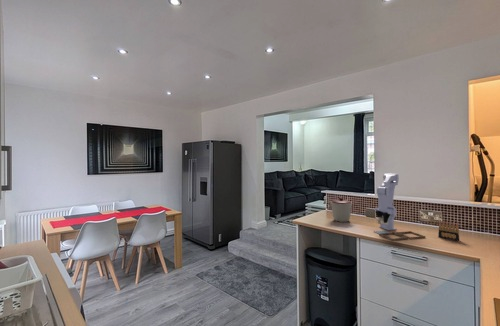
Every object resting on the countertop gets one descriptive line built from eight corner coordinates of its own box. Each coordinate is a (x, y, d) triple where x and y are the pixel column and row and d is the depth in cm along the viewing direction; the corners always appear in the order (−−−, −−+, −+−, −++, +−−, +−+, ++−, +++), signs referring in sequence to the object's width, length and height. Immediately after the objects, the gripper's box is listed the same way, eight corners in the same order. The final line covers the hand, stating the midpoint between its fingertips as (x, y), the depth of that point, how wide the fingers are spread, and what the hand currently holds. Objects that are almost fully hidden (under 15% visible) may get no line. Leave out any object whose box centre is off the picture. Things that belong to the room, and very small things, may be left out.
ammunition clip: (438, 237, 162) (438, 219, 162) (438, 236, 163) (438, 219, 163) (458, 241, 154) (458, 222, 154) (459, 240, 155) (459, 222, 155)
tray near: (379, 235, 168) (379, 233, 168) (393, 234, 170) (393, 232, 170) (392, 240, 156) (392, 239, 156) (407, 239, 158) (407, 237, 158)
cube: (378, 223, 175) (377, 217, 175) (383, 222, 176) (383, 216, 176) (382, 224, 171) (382, 218, 171) (387, 224, 172) (387, 218, 172)
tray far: (396, 233, 170) (396, 232, 170) (410, 232, 173) (410, 231, 173) (410, 239, 159) (410, 237, 159) (425, 237, 161) (425, 236, 161)
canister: (326, 219, 216) (326, 196, 216) (343, 217, 222) (342, 195, 222) (339, 224, 199) (339, 199, 199) (357, 222, 205) (356, 197, 205)
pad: (373, 231, 176) (373, 231, 176) (385, 231, 178) (385, 230, 178) (380, 234, 169) (380, 234, 169) (392, 233, 171) (392, 233, 171)
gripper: (371, 202, 180) (371, 219, 180) (385, 205, 166) (385, 224, 166) (379, 201, 181) (379, 219, 181) (394, 204, 167) (394, 224, 167)
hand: (382, 221), depth 173 cm, fingers closed on cube, 4 cm apart
